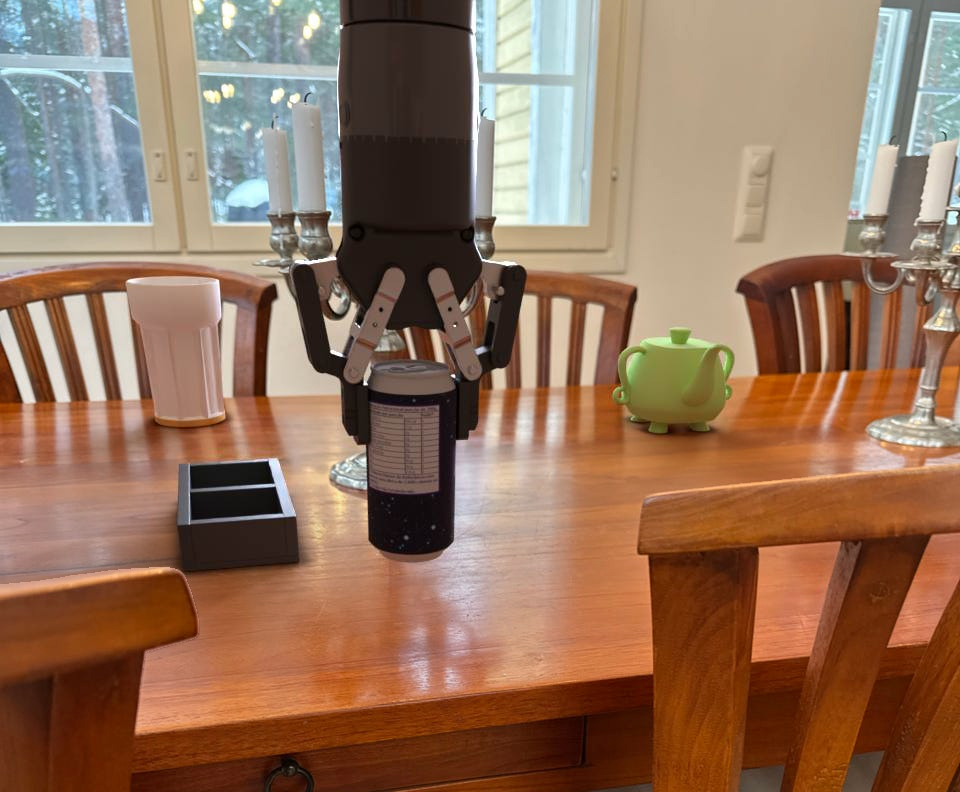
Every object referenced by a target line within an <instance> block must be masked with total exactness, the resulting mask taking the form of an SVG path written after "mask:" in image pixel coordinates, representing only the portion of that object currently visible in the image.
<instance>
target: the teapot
mask: <svg viewBox="0 0 960 792" xmlns="http://www.w3.org/2000/svg"><path fill="white" fill-rule="evenodd" d="M668 333H669V336H664V337H663V336H662V337H660V336H657V337H647V338H646V337H645V338H644V339H643V340H642V341H641V342H640V344H639V345H636V344H635V345H631V346H628V347H627V348H625V349H623V351H622V352H621V353H620V354H619V356H618V359H617V371H618V377H619V381H620V386H618V387H616V388H615V389H614V390H613V392H612V401H613V402H614V404H616V405H618V406H625V408H626V410H627V411H628V413H630V414H631V415H633V416H632V417H631V418H630V421H632V422H636V423H647V422H651V423H650V424H649V428H648V430H647V431H648V432H650V433H654V434H665V433H668V429H669V424H689V427H690V430H692V431H696V432H709V431H710V427H709V426H708V423H707V422H712V421H714V420H715V419H717V417H719V416H720V414H721V413H722V411H723V410H724V409H725V406H726V404H727V403H726V402H727V401H728V400H730V399H731V397H732V395H733V388H732V386H731V385H730V384H728V383H727V381H728V380H729V377H730V375H731V374H732V371H733V369H734V365H735V361H736V357H735V353H734V351H733V349H731V347H730V346H728V345H727V344H724V343H720V342H719V343H712V342H710V341H706V340H704V339H703V340H702V339H698V338H693V337H690V336H691V334H692V329H690V328H689V327H679V326H678V327H670V328H668ZM720 352H723V353H725V362H724V366H723V364H722V361H721V358H720V354H719V353H720ZM631 355H633V356H632V357H631V360H630V362H629V364H628V366H627V361H628V359H629V357H630V356H631ZM620 395H621V398H620Z"/></svg>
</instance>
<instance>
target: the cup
mask: <svg viewBox="0 0 960 792" xmlns="http://www.w3.org/2000/svg"><path fill="white" fill-rule="evenodd" d="M125 288H126V293H127V294H126V295H127V299H128V304H129V309H130V315H131V319H132V320H133V321H135V323H136V324H137V325H138V326H139V328H140V335H141V340H142V346H143V352H144V355H145V356H144V357H145V358H144V359H145V363H146V368H147V375H148V379H149V385H150V392H151V397H152V403H153V408H154V414H153V415H154V422H155V423H157V425H160V426H165V427H170V428H198V427H205V426H206V427H207V426H211V425H215V424H219V423H221V422H222V421H225V420H226V412H225V411H226V410H225V402H224V401H225V400H224V390H223V388H224V387H223V376H222V365H221V353H220V341H219V340H220V339H219V338H220V337H219V327H218V324H219V322H220V321H221V319H222V303H221V289H220V288H221V287H220V280H219V279H216V278H213V277H206V276H205V277H204V276H189V275H188V276H186V275H184V276H183V275H171V276H170V275H165V276H163V275H161V276H147V277H146V276H144V277H137V278H130V279H127V280H125Z"/></svg>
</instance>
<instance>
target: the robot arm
mask: <svg viewBox="0 0 960 792" xmlns="http://www.w3.org/2000/svg"><path fill="white" fill-rule="evenodd" d="M338 2H339V4H338V5H339V28H340V30H339V50H338V51H339V53H338V62H337V79H336V80H337V81H336V82H337V86H336V87H337V111H338V112H337V114H338V115H337V116H338V142H339V147H338V148H339V171H340V173H339V174H340V197H341V198H340V200H341V224H342V227H341V228H342V233H341V240H340V243H339V246H338V248H337V250H336V253H335V255H334V256H333V257H329V258H323V259H318V260H311V261H304V260H301V259H296V260H293V261H291V263H290V264H289V267H288V275H289V280H290V284H291V288H292V293H293V298H294V302H295V306H296V307H295V308H296V312H297V315H298V321H299V325H300V330H301V333H302V339H303V343H304V348H305V352H306V356H307V359H308V362H309V363H310V364H311V366H312V368H313V369H314V371H316V372H317V373H319V374H326V375H329V376H332V377H335V378H337V379H338V380H339V383H340V402H341V403H340V405H341V423H342V425H343V428H344V430H345V432H346V433H347V435H348V436H349V437H352V438H353V441H354V442H355V444H356V445H357V446H366V445H369V402H368V384H367V383H366V382H367V381H365V377H364V376H365V374H366V372H367V369H368V366H369V365H370V361H371V359H372V356H373V355H374V352H375V350H376V349H377V348H378V346H379V344H380V342H381V340H382V337H383V335H384V332H385V330H386V331H403V330H404V329H408V328H412V327H414V328H415V327H416V328H419V329H422V330H426V331H427V330H433V331H434V330H436V331H437V334H438V336H439V337H440V340H441V341H442V342H443V344H444V347H445V349H446V352H447V355H448V357H449V360H450V361H451V364H452V367H453V369H454V374H450V375H451V377H452V379H453V381H454V383H455V385H456V388H457V418H456V441H468V440H469V437H470V431H471V432H472V431H476V429H477V427H478V424H479V409H480V408H479V407H480V383H481V379H482V378H483V376H484V375H485V374H488V373H490V372H493V371H494V370H497V369H498V370H499V369H500V370H501V369H505V368H507V367H508V366H509V365H510V363H511V358H512V352H513V349H514V343H515V339H516V333H517V328H518V323H519V320H520V314H521V309H522V304H523V298H524V293H525V289H526V288H525V287H526V284H527V278H528V273H527V269H526V268H525V267H524V266H523V265H521V264H517V263H515V262H510V261H501V262H497V261H490V260H486V259H483V258H482V255H481V253H480V251H479V250H478V246H477V243H476V215H477V213H476V208H477V207H476V206H477V172H478V171H477V167H478V165H477V164H478V135H479V130H480V128H481V127H480V125H481V113H480V109H479V74H478V64H477V55H476V53H477V52H476V35H475V33H476V17H477V16H476V14H477V13H476V12H477V0H339V1H338ZM338 277H339V278H340V279H341V281H342V282H343V284H344V285H345V286H346V288H347V289H348V291H349V292H350V293H351V295H352V296H353V298H354V299H355V300H356V302H357V303H358V306H357V308H356V311H355V314H354V316H353V319H352V322H351V324H350V327H349V330H348V336H347V338H346V340H345V343H344V346H343V349H342V351H341V353H340V352H337V351H335V350H332V349H331V345H330V341H329V336H328V331H327V326H326V322H325V321H326V320H325V316H324V311H323V307H322V302H324V301H327V300H328V299H329V298H330V296H331V292H332V283H333V281H334V280H335V278H338ZM479 278H480V280H482V285H483V286H482V287H483V290H482V291H483V294H484V296H486V297H487V298H488V299H489V304H488V309H487V315H486V319H485V326H484V332H483V336H482V341H481V346H480V347H478V348H475V346H474V344H473V340H472V335H471V331H470V329H469V326H468V324H467V321H466V318H465V316H464V314H463V311H462V309H461V305H462V303H463V302H464V300H465V299H466V298H467V296H468V295H469V293H470V291H471V290H472V288H473V287H474V286H475V284H476V282H477V281H478V280H479Z"/></svg>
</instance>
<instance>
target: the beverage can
mask: <svg viewBox="0 0 960 792" xmlns="http://www.w3.org/2000/svg"><path fill="white" fill-rule="evenodd" d="M369 369H370V374H369V375H368V379H367V380H366V381H365V382H366V383H367V384H368V402H369V445H365V464H366V465H365V466H366V469H365V470H366V502H367V503H366V504H367V506H366V507H367V538H368V539H367V540H368V542H369V543H370V544H371V545H372V546H373V547H374V548H375V549H377V550H378V551H379V553H380V554H381V556H382V557H384V558H385V559H388V560H390V561H393V562H398V563H407V564H408V563H411V564H412V563H413V564H414V563H425V562H430V561H432V560H435V559H438V558H439V557H441V556H442V554H443V552H444V551H446V550H447V549H448V548H449V547H450V546H451V545H452V544H453V543H454V541H455V521H456V520H455V515H456V513H455V511H456V510H455V509H456V461H457V440H456V418H457V388H456V385H455V383H454V381H453V379H452V377H451V375H452V374H451V371H452V367H451V366H450V365H449V364H447V363H444V362H441V361H435V360H430V359H429V360H428V359H415V358H412V359H411V358H407V359H406V358H405V359H404V358H401V359H386V360H380V361H376V362H373V363H371V364H370V366H369Z"/></svg>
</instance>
